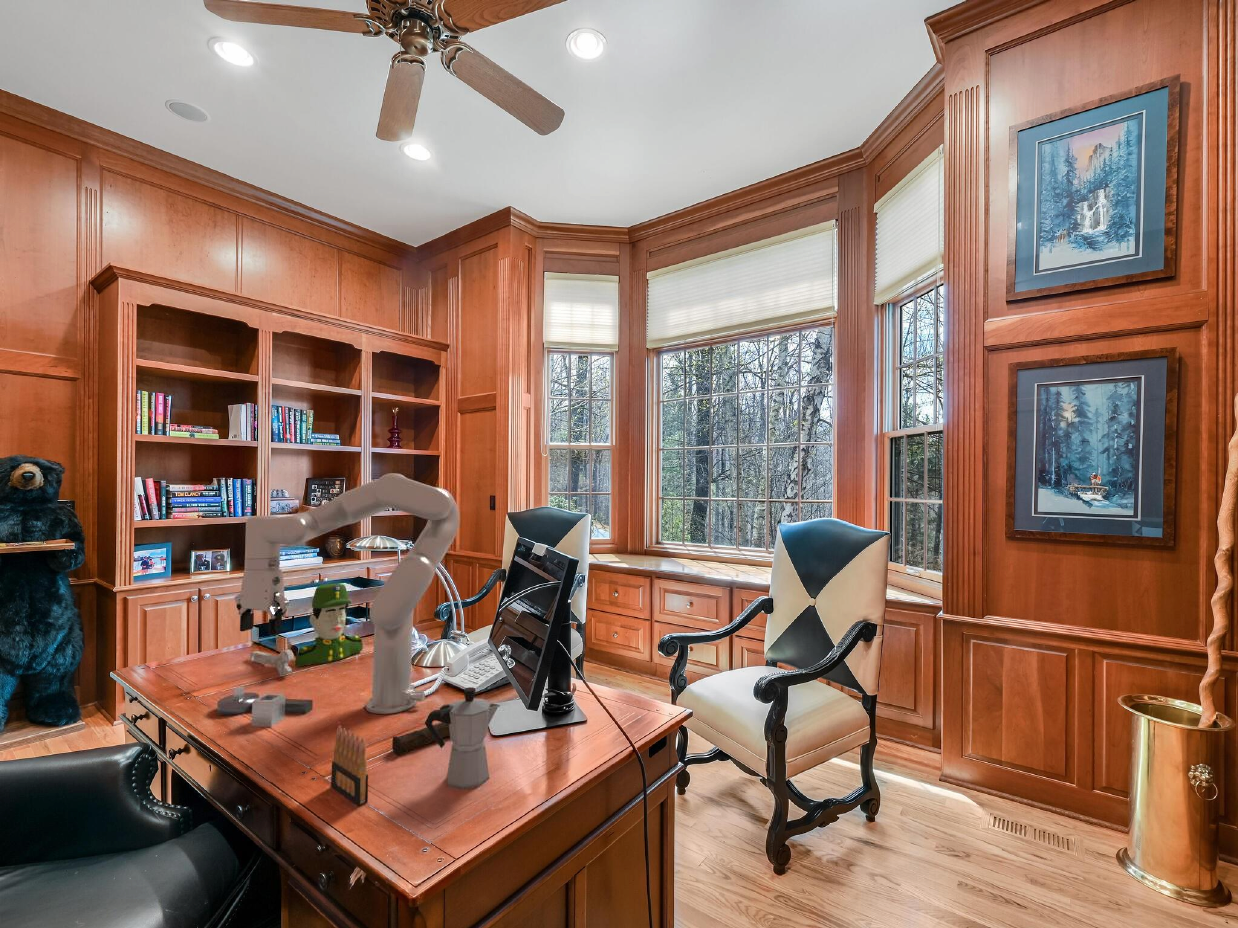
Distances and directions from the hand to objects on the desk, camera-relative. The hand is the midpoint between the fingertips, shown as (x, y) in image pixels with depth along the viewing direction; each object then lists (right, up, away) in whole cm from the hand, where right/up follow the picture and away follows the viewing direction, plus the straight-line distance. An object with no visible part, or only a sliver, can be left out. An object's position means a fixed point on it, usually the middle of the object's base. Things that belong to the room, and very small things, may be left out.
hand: (260, 631), depth 144 cm
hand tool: (+48, -22, -12) cm, 54 cm away
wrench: (-18, -22, +34) cm, 45 cm away
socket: (+5, -21, -4) cm, 22 cm away
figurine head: (-5, -23, +44) cm, 50 cm away
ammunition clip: (+39, -21, -35) cm, 57 cm away
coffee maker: (+59, -21, -29) cm, 69 cm away
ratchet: (-1, -21, +3) cm, 21 cm away
